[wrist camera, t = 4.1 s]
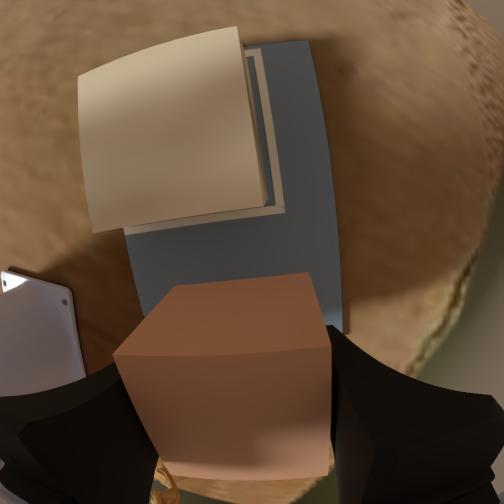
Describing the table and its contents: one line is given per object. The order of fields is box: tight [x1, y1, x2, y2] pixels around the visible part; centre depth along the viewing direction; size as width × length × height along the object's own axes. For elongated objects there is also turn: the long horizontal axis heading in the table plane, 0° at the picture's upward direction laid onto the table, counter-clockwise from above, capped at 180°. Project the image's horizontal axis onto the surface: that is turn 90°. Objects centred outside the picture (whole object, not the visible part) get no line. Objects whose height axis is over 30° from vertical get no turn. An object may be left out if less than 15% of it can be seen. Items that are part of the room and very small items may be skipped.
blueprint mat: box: [123, 40, 343, 334], centre depth 14 cm, size 16×11×1 cm
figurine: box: [151, 456, 187, 504], centre depth 13 cm, size 8×6×12 cm
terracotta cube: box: [112, 272, 332, 480], centre depth 9 cm, size 5×5×5 cm
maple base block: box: [78, 26, 268, 233], centre depth 12 cm, size 7×7×4 cm
